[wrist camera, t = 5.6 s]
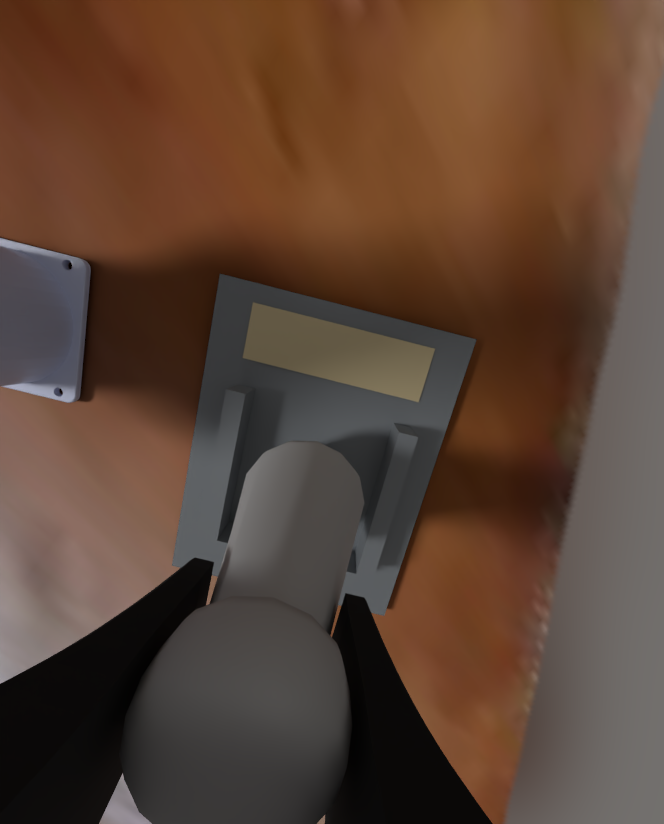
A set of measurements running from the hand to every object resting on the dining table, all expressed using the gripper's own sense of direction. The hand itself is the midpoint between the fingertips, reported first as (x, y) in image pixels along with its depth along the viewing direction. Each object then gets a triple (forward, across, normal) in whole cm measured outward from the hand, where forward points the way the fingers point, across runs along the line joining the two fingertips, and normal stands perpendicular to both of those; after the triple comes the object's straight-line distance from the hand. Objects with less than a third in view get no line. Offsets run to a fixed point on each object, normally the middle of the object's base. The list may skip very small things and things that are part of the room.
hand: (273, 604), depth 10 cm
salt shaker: (+8, 0, -1) cm, 8 cm away
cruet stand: (+10, 0, -1) cm, 10 cm away
